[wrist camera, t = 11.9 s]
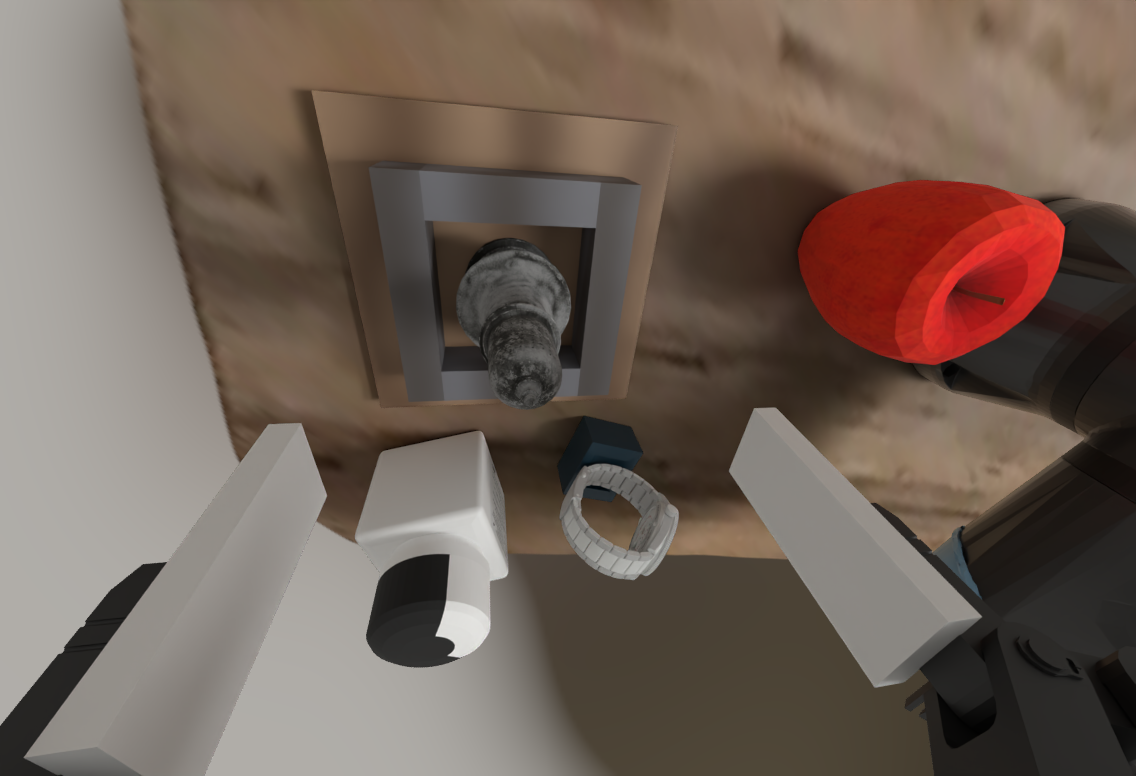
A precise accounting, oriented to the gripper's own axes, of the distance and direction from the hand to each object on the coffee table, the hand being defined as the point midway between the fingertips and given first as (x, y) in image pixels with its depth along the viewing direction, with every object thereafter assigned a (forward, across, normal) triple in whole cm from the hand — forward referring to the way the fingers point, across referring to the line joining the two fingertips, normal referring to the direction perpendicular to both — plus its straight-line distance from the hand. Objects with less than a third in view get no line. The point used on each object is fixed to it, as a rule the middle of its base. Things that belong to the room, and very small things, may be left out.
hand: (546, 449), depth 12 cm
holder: (+15, +1, 0) cm, 15 cm away
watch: (+16, -6, +14) cm, 22 cm away
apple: (+16, -20, -3) cm, 26 cm away
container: (+15, +6, +16) cm, 23 cm away
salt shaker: (+14, 0, 0) cm, 14 cm away
